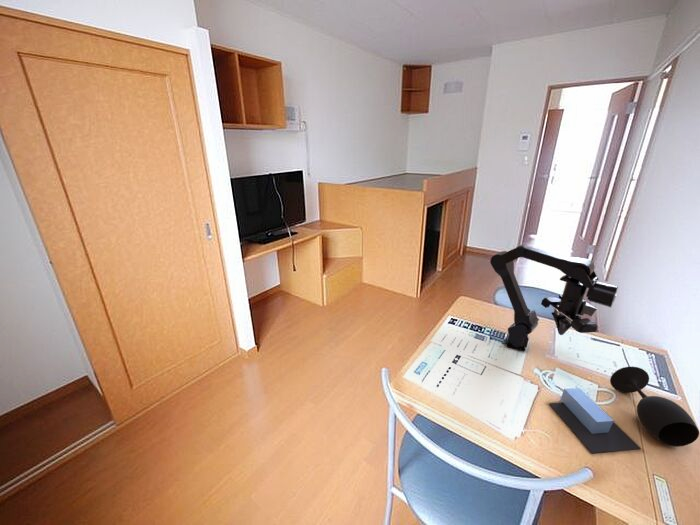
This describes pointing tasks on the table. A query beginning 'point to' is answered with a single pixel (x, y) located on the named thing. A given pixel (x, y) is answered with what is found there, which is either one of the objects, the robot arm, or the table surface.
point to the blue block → (586, 410)
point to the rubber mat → (597, 441)
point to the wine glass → (656, 409)
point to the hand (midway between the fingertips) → (560, 334)
